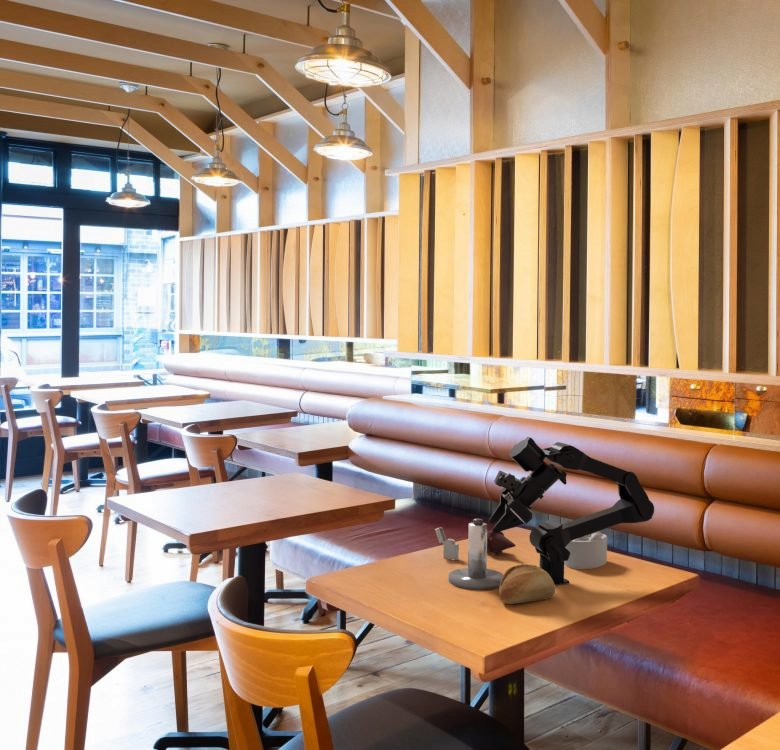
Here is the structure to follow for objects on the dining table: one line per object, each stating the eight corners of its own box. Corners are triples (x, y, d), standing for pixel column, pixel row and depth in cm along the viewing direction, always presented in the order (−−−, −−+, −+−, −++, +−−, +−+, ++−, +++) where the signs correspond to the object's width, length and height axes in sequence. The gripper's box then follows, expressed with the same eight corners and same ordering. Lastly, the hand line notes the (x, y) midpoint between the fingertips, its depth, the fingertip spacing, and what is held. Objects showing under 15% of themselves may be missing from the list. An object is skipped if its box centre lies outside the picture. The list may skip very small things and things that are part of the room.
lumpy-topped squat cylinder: (611, 561, 220) (612, 530, 219) (587, 572, 210) (588, 539, 210) (577, 554, 227) (577, 523, 226) (552, 564, 217) (553, 532, 217)
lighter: (458, 559, 221) (459, 530, 221) (455, 560, 220) (455, 531, 219) (438, 554, 226) (438, 526, 225) (434, 555, 224) (434, 527, 224)
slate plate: (515, 586, 198) (515, 581, 198) (463, 592, 193) (463, 587, 193) (488, 570, 211) (488, 565, 211) (439, 575, 206) (439, 570, 206)
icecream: (525, 533, 224) (487, 528, 236) (507, 530, 219) (469, 525, 231) (522, 559, 223) (484, 552, 234) (504, 556, 218) (465, 549, 230)
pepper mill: (489, 577, 201) (490, 521, 200) (472, 579, 199) (473, 522, 198) (481, 572, 205) (482, 516, 204) (464, 574, 203) (465, 518, 203)
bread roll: (487, 600, 188) (487, 566, 187) (535, 589, 196) (536, 556, 196) (515, 612, 180) (515, 577, 179) (564, 600, 188) (564, 566, 187)
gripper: (509, 454, 209) (466, 496, 210) (519, 466, 191) (471, 512, 192) (539, 485, 210) (496, 526, 211) (552, 500, 191) (504, 545, 192)
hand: (491, 527), depth 201 cm, fingers open, 9 cm apart
